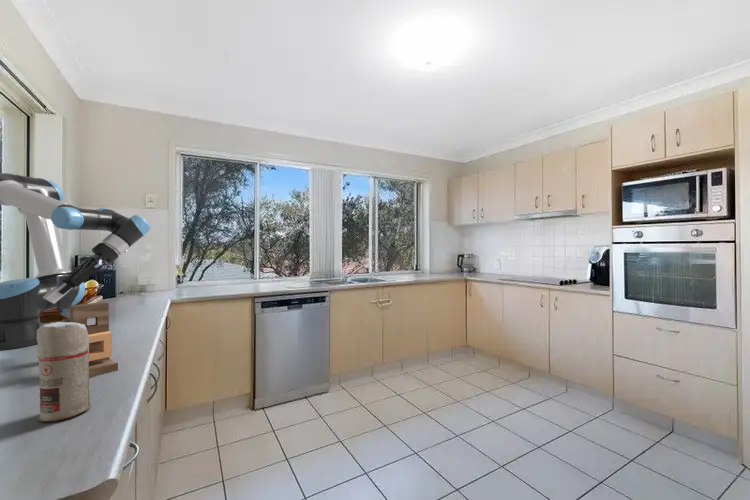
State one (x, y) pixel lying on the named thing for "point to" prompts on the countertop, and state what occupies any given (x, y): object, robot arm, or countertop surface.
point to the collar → (105, 345)
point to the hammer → (68, 301)
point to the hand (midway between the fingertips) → (48, 300)
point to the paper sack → (63, 370)
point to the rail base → (102, 325)
